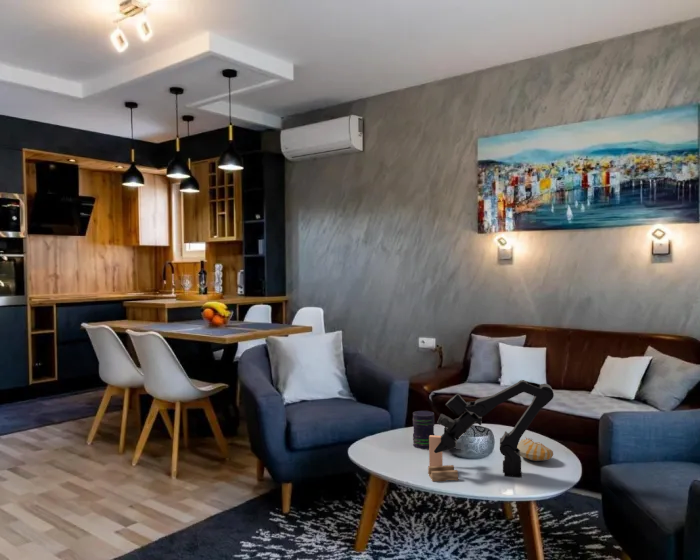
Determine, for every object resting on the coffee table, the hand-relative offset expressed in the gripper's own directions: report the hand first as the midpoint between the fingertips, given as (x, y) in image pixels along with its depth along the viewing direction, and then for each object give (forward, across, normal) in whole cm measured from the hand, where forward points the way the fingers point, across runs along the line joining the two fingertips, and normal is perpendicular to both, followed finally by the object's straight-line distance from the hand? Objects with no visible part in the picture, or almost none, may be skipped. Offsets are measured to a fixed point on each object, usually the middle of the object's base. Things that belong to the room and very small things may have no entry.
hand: (436, 448), depth 231 cm
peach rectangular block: (+6, 0, +6) cm, 8 cm away
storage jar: (+12, -28, 0) cm, 30 cm away
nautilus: (-22, -22, +33) cm, 45 cm away
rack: (+3, +9, +8) cm, 13 cm away
